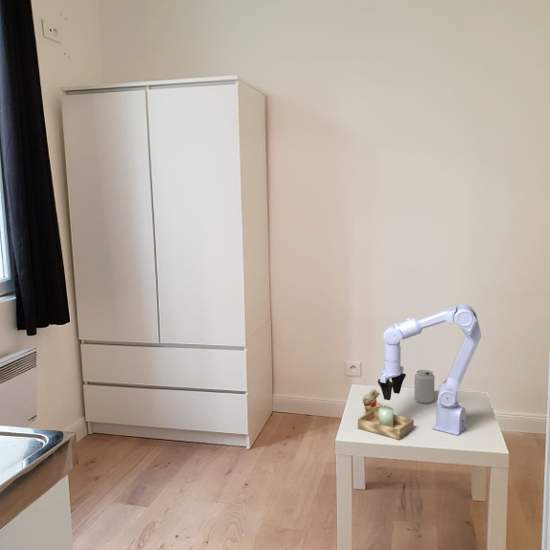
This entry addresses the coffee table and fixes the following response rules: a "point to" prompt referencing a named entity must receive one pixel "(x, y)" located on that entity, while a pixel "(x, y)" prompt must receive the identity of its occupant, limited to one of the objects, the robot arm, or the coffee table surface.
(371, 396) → the beige lumpy upright piece
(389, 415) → the rounded sage cylinder
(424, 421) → the coffee table surface
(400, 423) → the bamboo box
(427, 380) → the can
